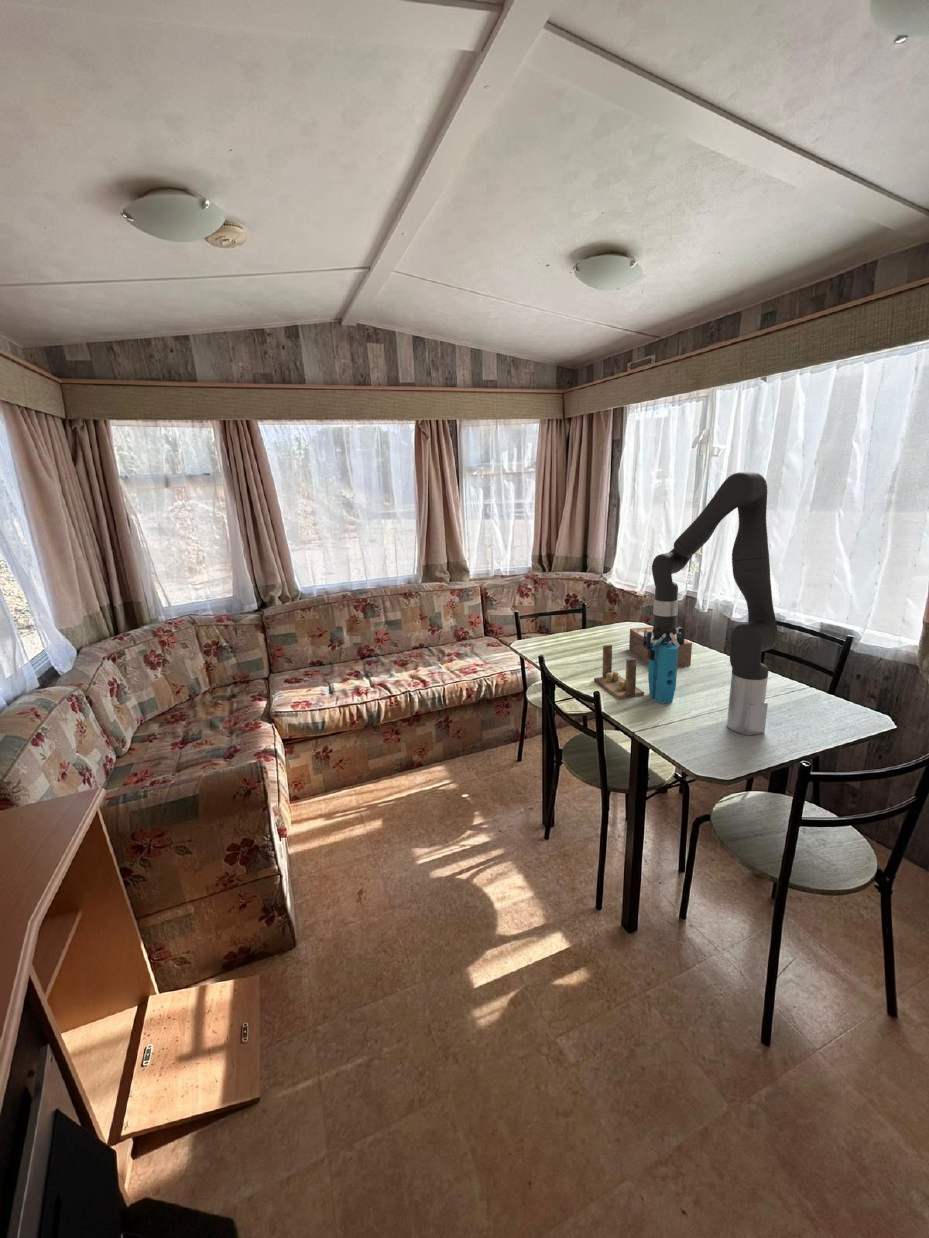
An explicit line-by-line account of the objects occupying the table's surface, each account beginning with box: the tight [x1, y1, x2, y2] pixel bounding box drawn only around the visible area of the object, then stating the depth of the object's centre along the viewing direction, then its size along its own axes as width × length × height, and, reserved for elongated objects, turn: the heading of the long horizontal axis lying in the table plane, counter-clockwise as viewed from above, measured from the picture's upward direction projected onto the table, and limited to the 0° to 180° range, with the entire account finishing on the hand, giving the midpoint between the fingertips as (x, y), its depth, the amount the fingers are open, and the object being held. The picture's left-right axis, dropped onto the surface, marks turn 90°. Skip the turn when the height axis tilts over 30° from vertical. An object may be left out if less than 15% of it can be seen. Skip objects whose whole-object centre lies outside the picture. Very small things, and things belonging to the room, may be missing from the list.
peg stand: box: [593, 644, 645, 700], centre depth 181 cm, size 10×18×14 cm, turn 13°
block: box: [647, 640, 678, 704], centre depth 170 cm, size 12×5×20 cm, turn 4°
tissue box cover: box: [628, 626, 693, 668], centre depth 211 cm, size 26×14×10 cm, turn 6°
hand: (662, 658), depth 169 cm, fingers open, 8 cm apart
